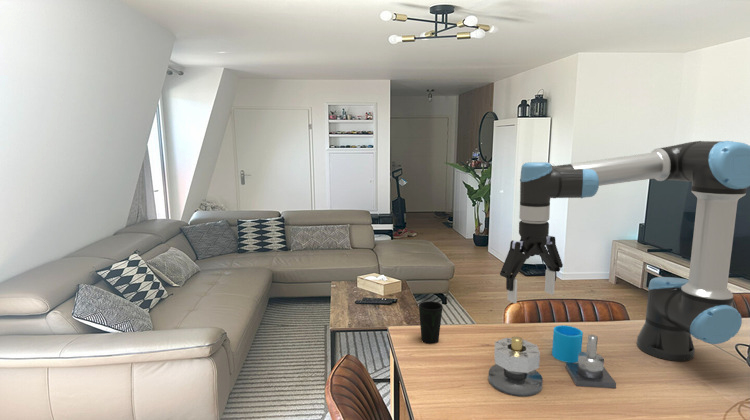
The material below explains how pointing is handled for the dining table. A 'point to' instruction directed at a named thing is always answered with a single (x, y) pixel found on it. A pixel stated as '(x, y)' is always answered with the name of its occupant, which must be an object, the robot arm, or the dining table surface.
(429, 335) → the cup
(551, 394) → the dining table surface
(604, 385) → the stand
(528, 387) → the hub
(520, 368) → the faceted steel ring
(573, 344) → the mug
